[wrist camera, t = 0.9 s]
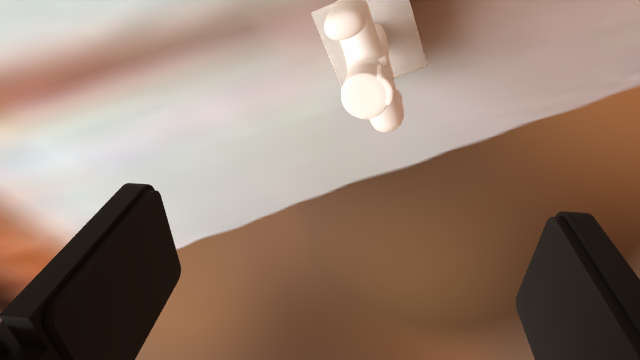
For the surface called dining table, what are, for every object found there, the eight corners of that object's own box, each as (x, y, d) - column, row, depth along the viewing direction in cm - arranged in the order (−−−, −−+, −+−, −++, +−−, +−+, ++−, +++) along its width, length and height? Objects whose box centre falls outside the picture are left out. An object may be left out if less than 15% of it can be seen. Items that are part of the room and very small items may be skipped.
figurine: (351, 89, 38) (339, 180, 25) (311, -11, 33) (274, 41, 21) (426, 63, 35) (452, 148, 23) (395, -49, 31) (408, -16, 18)
